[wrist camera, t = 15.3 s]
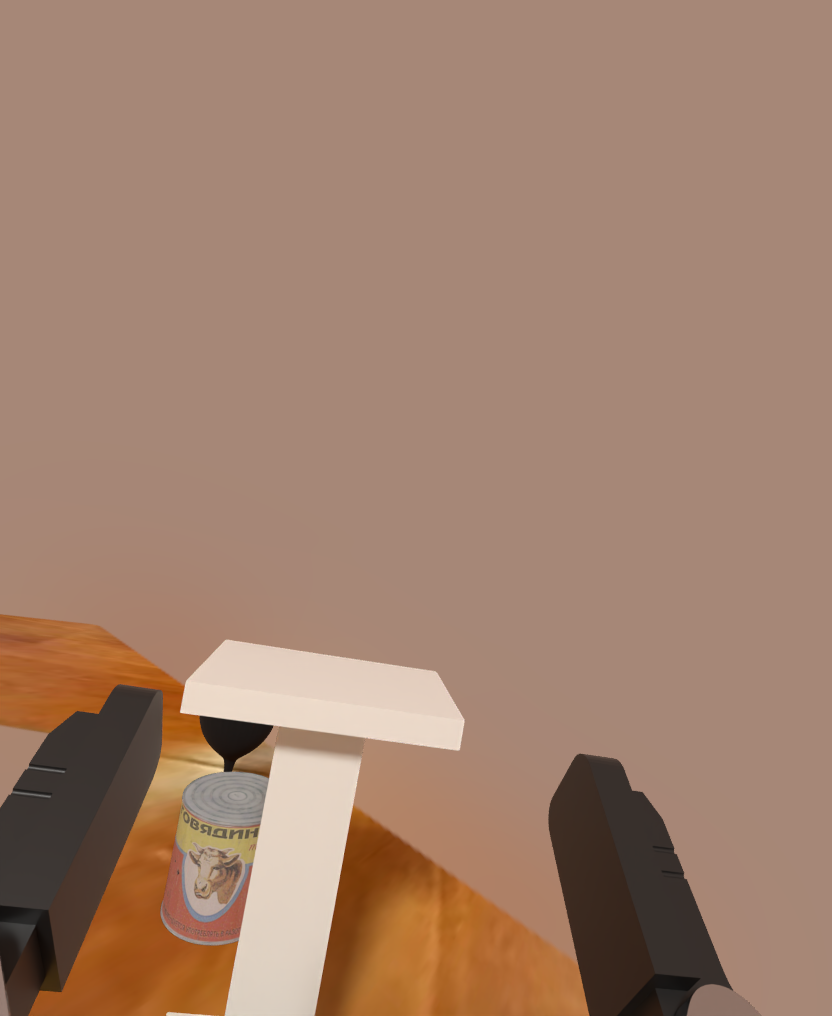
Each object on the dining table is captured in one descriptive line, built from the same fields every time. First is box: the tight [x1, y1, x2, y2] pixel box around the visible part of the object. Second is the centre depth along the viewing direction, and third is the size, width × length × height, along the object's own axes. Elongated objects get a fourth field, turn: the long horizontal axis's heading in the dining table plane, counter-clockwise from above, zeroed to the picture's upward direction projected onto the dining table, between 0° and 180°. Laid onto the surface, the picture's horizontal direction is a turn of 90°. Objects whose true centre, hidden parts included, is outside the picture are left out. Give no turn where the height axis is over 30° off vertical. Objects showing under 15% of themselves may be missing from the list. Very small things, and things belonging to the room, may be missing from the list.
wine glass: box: [200, 715, 274, 772], centre depth 79 cm, size 10×10×20 cm
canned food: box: [161, 772, 269, 945], centre depth 62 cm, size 11×11×12 cm
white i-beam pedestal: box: [166, 640, 465, 1016], centre depth 42 cm, size 12×18×32 cm, turn 97°
